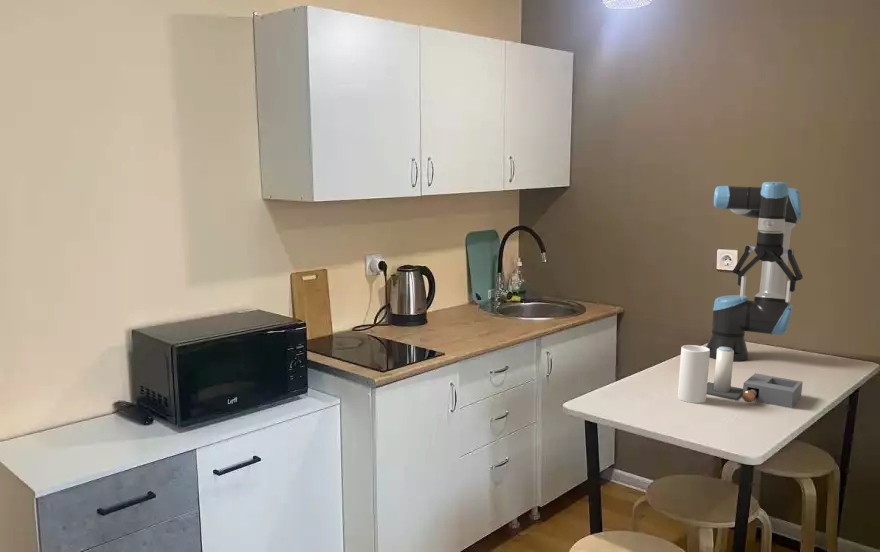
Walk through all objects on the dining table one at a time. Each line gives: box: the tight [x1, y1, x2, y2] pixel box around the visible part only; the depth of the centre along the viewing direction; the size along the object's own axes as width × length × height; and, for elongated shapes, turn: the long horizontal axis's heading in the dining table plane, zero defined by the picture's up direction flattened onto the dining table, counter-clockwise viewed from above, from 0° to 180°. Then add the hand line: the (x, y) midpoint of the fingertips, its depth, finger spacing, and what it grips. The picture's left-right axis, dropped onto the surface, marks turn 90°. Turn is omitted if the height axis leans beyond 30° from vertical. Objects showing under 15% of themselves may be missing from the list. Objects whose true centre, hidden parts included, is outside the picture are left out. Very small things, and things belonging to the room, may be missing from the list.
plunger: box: [741, 388, 759, 403], centre depth 221 cm, size 10×3×3 cm, turn 143°
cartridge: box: [713, 347, 734, 392], centre depth 229 cm, size 5×5×14 cm
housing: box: [741, 373, 804, 409], centre depth 224 cm, size 14×14×5 cm
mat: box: [706, 381, 743, 401], centre depth 230 cm, size 12×12×1 cm
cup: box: [677, 344, 710, 404], centre depth 220 cm, size 8×8×16 cm
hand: (764, 298), depth 228 cm, fingers open, 13 cm apart
